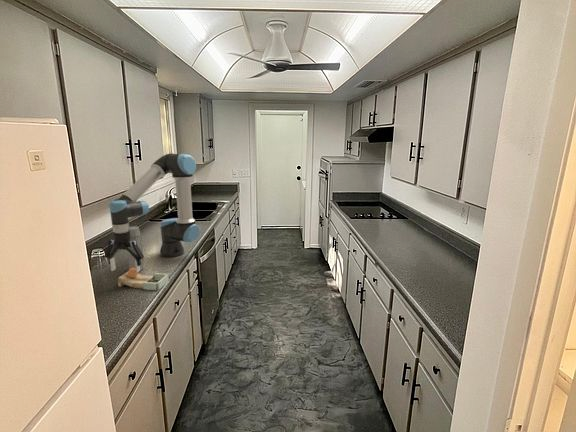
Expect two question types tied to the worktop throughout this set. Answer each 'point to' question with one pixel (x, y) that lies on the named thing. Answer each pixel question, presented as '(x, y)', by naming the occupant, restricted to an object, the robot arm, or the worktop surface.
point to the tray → (156, 286)
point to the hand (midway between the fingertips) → (125, 270)
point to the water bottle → (136, 236)
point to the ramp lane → (134, 280)
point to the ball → (132, 272)
